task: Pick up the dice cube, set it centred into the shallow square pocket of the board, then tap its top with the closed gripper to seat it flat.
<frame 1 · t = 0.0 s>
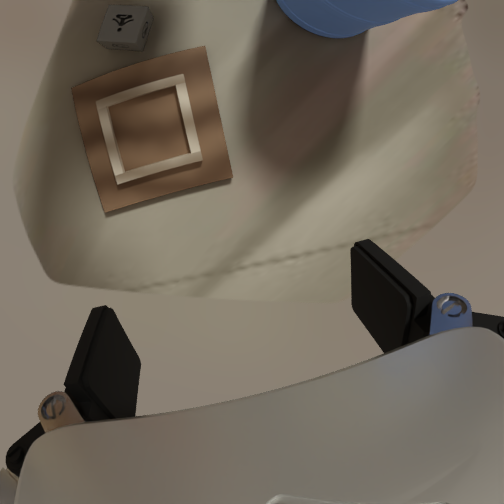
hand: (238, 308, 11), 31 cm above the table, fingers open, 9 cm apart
pocket board: (150, 128, 35), on the table
dice cube: (130, 33, 29), on the table
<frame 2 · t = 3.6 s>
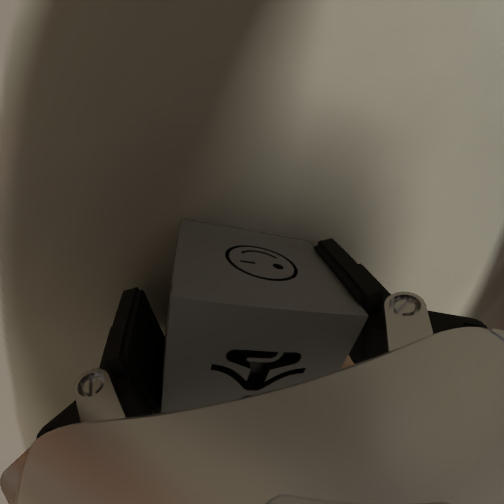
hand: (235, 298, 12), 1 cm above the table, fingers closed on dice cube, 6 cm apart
dice cube: (232, 285, 13), on the table, touching gripper
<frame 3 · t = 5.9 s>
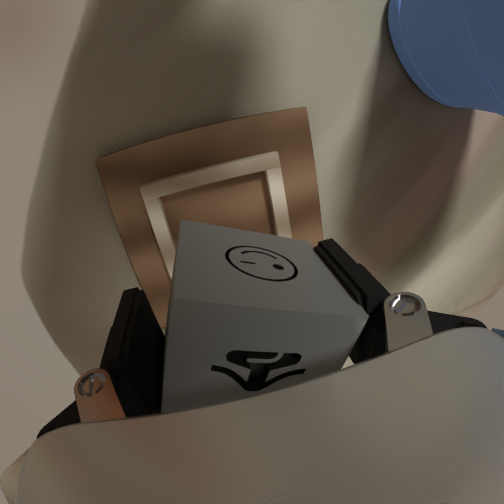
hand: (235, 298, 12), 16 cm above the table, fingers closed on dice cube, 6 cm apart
pocket board: (222, 224, 28), on the table
dice cube: (232, 285, 13), point 15 cm above the table, touching gripper
water jug: (438, 41, 22), on the table
when the fingers open (3 cm above the table, at t = 8.2 s): dice cube drops 1 cm, resting on pocket board.
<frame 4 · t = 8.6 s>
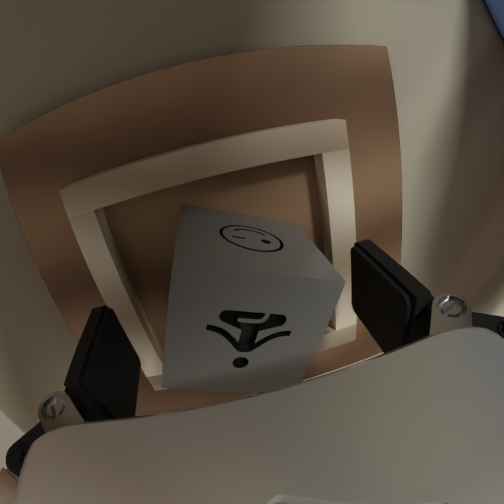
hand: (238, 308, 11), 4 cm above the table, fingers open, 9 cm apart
pocket board: (227, 260, 15), on the table
dice cube: (228, 265, 14), point 1 cm above the table, touching pocket board
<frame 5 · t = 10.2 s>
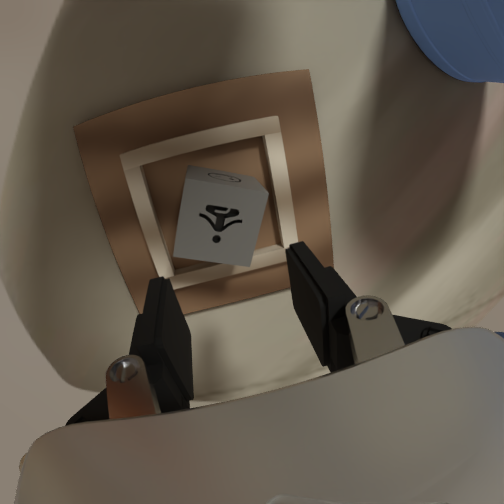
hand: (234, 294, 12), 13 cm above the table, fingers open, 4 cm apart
pocket board: (214, 201, 24), on the table
dice cube: (214, 201, 23), point 1 cm above the table, touching pocket board
water jug: (445, 14, 19), on the table
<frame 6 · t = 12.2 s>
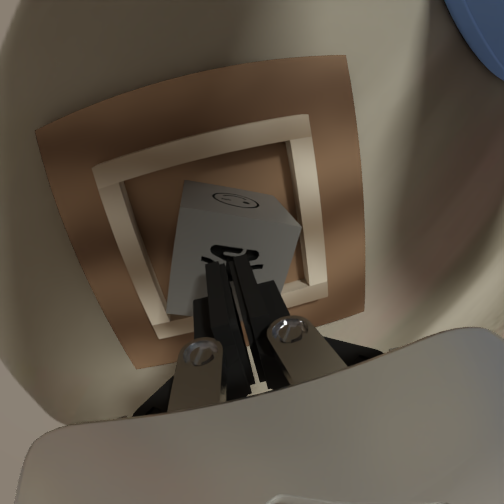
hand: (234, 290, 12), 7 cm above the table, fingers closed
pocket board: (219, 226, 18), on the table
dice cube: (220, 228, 18), point 1 cm above the table, touching pocket board
water jug: (487, 6, 13), on the table
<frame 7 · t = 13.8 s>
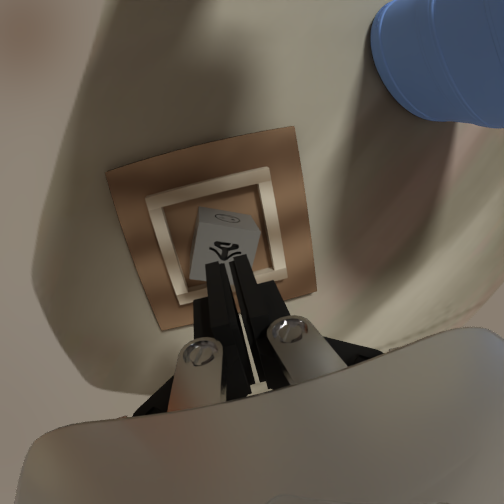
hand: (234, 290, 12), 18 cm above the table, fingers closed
pocket board: (219, 233, 30), on the table
dice cube: (219, 234, 30), point 1 cm above the table, touching pocket board
water jug: (419, 59, 26), on the table
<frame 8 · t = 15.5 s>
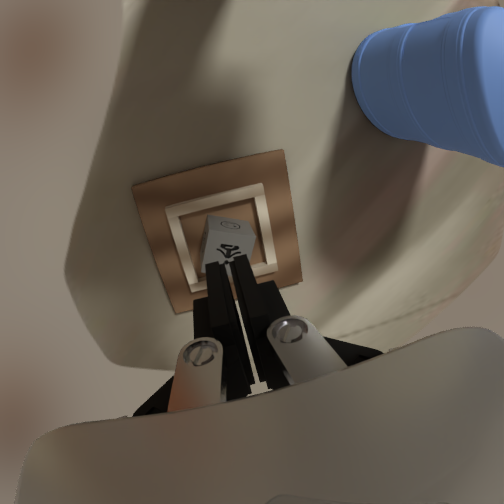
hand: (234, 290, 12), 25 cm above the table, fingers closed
pocket board: (223, 235, 38), on the table
dice cube: (223, 236, 37), point 1 cm above the table, touching pocket board
water jug: (397, 83, 33), on the table
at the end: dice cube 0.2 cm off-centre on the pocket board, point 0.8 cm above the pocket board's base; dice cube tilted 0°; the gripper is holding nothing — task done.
